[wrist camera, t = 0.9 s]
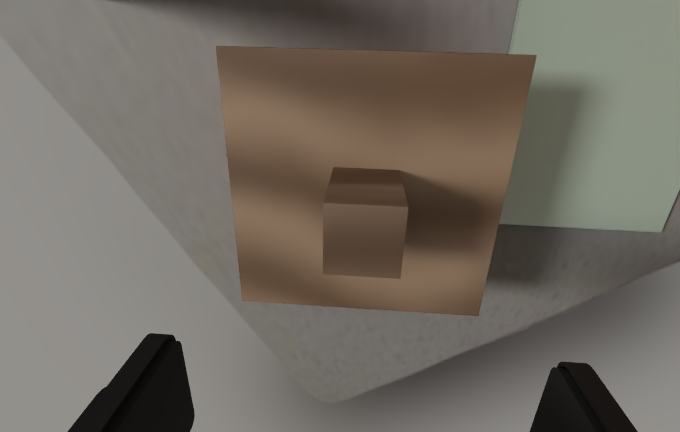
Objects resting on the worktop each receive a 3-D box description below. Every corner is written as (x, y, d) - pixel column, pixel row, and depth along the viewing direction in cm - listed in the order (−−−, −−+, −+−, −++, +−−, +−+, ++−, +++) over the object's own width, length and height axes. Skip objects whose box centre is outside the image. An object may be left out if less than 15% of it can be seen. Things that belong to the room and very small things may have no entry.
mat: (525, -34, 21) (528, -35, 21) (765, -30, 21) (774, -32, 20) (475, 219, 28) (477, 222, 28) (656, 229, 27) (661, 232, 27)
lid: (225, 45, 19) (163, 46, 13) (525, 54, 18) (598, 58, 13) (248, 288, 25) (213, 360, 20) (472, 301, 25) (504, 381, 19)
